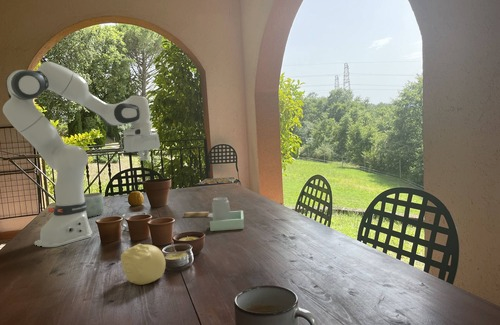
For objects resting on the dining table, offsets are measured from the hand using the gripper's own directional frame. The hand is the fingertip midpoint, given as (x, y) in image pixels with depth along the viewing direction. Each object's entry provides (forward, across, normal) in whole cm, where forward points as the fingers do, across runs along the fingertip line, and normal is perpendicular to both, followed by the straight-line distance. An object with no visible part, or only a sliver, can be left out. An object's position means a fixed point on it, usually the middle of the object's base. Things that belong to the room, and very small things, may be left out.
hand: (144, 160), depth 184 cm
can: (+29, -2, +39) cm, 49 cm away
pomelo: (+29, +56, +50) cm, 81 cm away
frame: (+29, -3, +41) cm, 50 cm away
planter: (+29, -1, -41) cm, 50 cm away
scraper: (+29, -14, +19) cm, 38 cm away
